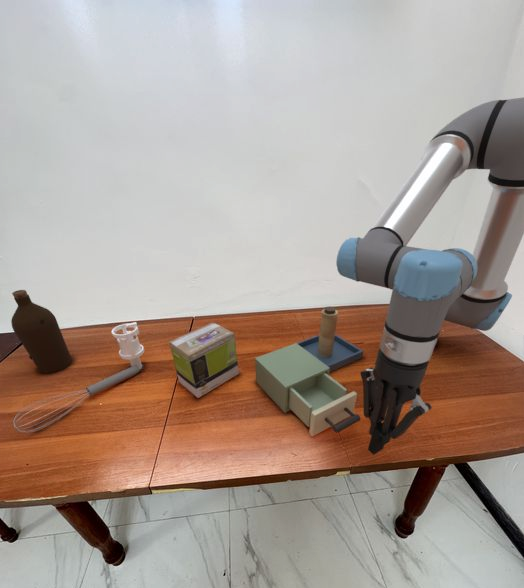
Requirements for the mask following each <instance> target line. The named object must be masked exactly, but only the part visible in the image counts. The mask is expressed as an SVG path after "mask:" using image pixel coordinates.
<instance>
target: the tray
mask: <svg viewBox="0 0 524 588" xmlns="http://www.w3.org/2000/svg"><path fill="white" fill-rule="evenodd" d="M296 343H297V344H298V345H300V346H301V347H302V348H304V349H305V350H306V351H308V352H309V353H310V354H312V355H313V356H314V357H316V358H317V359H319V360H320V361H321V362H323V363H324V364H325V365H327V366H328V367H329V368H330V372H329V373H332V372H333V371H335V370H338V369H339V368H342V367H344V366H347V365H350V364H352V363H354V362H356V361H358V360H361V359H362V358H363V356H364V350H363V349H361V348H359V347H358V346H356V345H354V344H353V343H351V342H350V341H348V340H347V339H344V337H341V336H340V335H338V334H336V333H335V339H334V347H333V354H332V356H331V357H327V358H325V357H321V356H319V355H318V343H319V334H317V335H315V336H311V337H309V338H306V339H304V340H303V339H302V340H301V341H298V342H296Z"/></svg>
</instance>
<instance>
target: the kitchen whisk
mask: <svg viewBox="0 0 524 588" xmlns="http://www.w3.org/2000/svg"><path fill="white" fill-rule="evenodd" d="M141 364H142V363H141ZM138 366H140V365H138ZM138 366H137V365H136V366H132V367H131V366H130V367H127V368H126V369H123V370H121V371H119V372H117V373H115V374H113V375H110V376H108V377H107V378H104V379H102V380H99V381H98V382H96V383H93V384H91V385H89V386H87V387H86V388H85V389H82V390H76V391H71V392H68V393H67V392H66V393H61V394H58V395H54V396H50V397H48V398H44V399H41V400H38V401H36V402H33V403H31V404H29V405H27V406H26V407H24V408H22V409H21V410H20V411H18V412H17V414H16V415H15V416H14V419H13V421H12V422H13V426H14V427H13V428H15V429H16V430H18V432H21V433H25V434H26V433H27V434H29V432H30V433H34V432H37V431H39V430H42V429H45V428H46V427H49V426H51V425H52V424H54V423H55V422H56V421H59V420H60V419H61V418H63V417H64V416H66V415H67V414H68V413H70V412H71V411H72V410H73V409H75V408H76V407H77V406H78V405H80V404H81V403H82V402H84V401H85V400H86V399H87V398H88V397H92V396H94V395H97V394H99V393H101V392H104V391H105V390H107V389H109V388H111V387H113V386H115V385H117V384H120V383H121V382H124V381H125V380H128V379H129V378H132V377H134V376H136V375H138V373H140V372H141V370H142V368H144V367H145V365H144V364H142V368H141V369H139V367H138ZM75 395H76V396H75ZM72 396H73V397H72ZM79 396H80V397H79ZM69 397H71V398H70V399H67V400H64V401H62V402H59V403H57V404H55V405H52V406H50V407H48V408H46V409H43V410H41V411H39V412H37V413H35V414H32V415H30V416H29V417H27V418H24V419H22V420H21V421H19V420H20V419H21V418H23V417H24V416H26V415H28V414H29V413H31V412H33V411H34V410H37V409H39V408H42V407H45V406H47V405H49V404H51V403H52V404H53V403H54V402H57V401H60V400H63V399H66V398H69ZM54 399H55V400H54ZM72 399H74V400H72ZM52 400H53V401H52ZM70 400H72V401H70ZM49 401H50V402H49ZM67 401H70V402H68V403H67V404H65V405H62V406H60V407H59V408H57V409H55V410H53V411H52V412H49V413H47V414H45V415H42V416H41V417H39V418H36V419H35V420H32V421H30V422H28V423H25V424H23V425H20V426H17V425H18V424H20V423H22V422H24V421H25V420H27V419H30V418H32V417H33V416H36V415H38V414H40V413H42V412H44V411H46V410H49V409H51V408H53V407H56V406H58V405H60V404H63V403H65V402H67ZM46 402H47V403H46ZM73 402H74V403H73ZM44 403H45V404H44ZM41 404H43V405H41ZM69 404H70V405H69ZM74 404H75V405H74ZM37 405H40V406H38V407H37V408H34V407H35V406H37ZM67 405H69V406H67ZM71 406H73V407H71ZM63 407H66V408H64V409H62V408H63ZM70 407H71V408H70ZM31 408H33V409H32V410H30V411H28V412H26V413H24V414H23V415H21V414H22V413H23V412H25V411H27V410H29V409H31ZM68 408H70V409H68ZM24 409H25V410H24ZM60 409H62V410H60ZM67 409H68V410H67ZM58 410H60V411H59V412H57V413H55V414H53V415H52V416H50V417H48V418H46V419H44V420H42V421H40V422H38V423H36V424H33V425H30V426H28V427H24V426H26V425H29V424H31V423H34V422H36V421H38V420H40V419H42V418H44V417H46V416H48V415H50V414H52V413H54V412H56V411H58ZM65 410H67V411H65ZM64 411H65V412H64ZM62 412H64V413H62ZM60 413H62V414H61V415H60V416H58V417H56V418H55V419H53V420H51V421H50V422H47V423H45V424H44V425H42V426H39V427H37V428H34V429H31V430H28V431H27V430H25V429H29V428H32V427H36V426H37V425H40V424H41V423H43V422H46V421H47V420H49V419H51V418H53V417H54V416H57V415H58V414H60ZM20 415H21V416H20ZM18 416H20V417H19V418H18ZM17 418H18V419H17ZM16 419H17V420H16ZM15 421H16V422H15ZM18 421H19V422H18ZM23 427H24V428H23Z"/></svg>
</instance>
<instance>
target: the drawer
mask: <svg viewBox="0 0 524 588" xmlns="http://www.w3.org/2000/svg"><path fill="white" fill-rule="evenodd" d="M357 398H358V392H356V391H355V390H353V391H351V392H348V389H347V388H346V387H344V386H343V385H342V384H341V383H340V382H338V380H337V381H336V379H334V378H333V377H332V376H330V374H329V375H328V374H326V373H322V374H320V375H318V376H316V377H313V378H311V379H309V380H307V381H304V382H302V383H300V384H297V385H295V386H293V387H291V388H288V407H289V408H290V409H291V410H290V411H292V412H293V413H294V415H295V416H297V417H298V418H299V419H300V420H301V422H302V423H303V424H305V426H306V427H307V428H309V434H310V436H311V437H314V436H317V435H318V434H320V433H322V432H324V431H325V430H327V429H329V428H331V429H332V432H334V434H338V433H339V432H342V431H344V430H346V429H347V428H349V427H351V426H352V425H354V424H356V423H357V422H359V421H361V416H360V415H359V413H354V412H355V407H356V404H357V403H356V402H357Z"/></svg>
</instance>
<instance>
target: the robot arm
mask: <svg viewBox="0 0 524 588" xmlns="http://www.w3.org/2000/svg"><path fill="white" fill-rule="evenodd" d="M469 170H488V171H489V172H488V176H487V182H488V184H489V185H490V186H491V187H492V190H491V194H490V197H489V200H488V204H487V206H486V211H485V213H484V216H483V220H482V223H481V226H480V229H479V233H478V235H477V239H476V242H475V245H474V248H473V252H472V253H471V252H469V251H468V250H466V249H463V248H458V247H453V248H447V249H445V248H444V249H443V250H439V249H438V250H437V249H427V248H421V247H414V246H407V245H408V244H409V242H411V240H412V238H413V237H414V235H415V234H416V233H417V231H418V230H419V228H420V227H421V225H422V224H423V223H424V222H425V220H426V218H427V217H428V216H429V214H430V213H431V211H432V210H433V209H434V207H435V206H436V204H437V203H438V202H439V200H440V198H441V197H442V196H443V195H444V193H445V192H446V190H447V188H448V187H449V186H450V184H451V183H452V182H453V180H455V179H457V178H459V177H460V176H462V175H463V173H465V172H466V171H469ZM523 237H524V97H515V98H509V99H496V100H491V101H487V102H484V103H481V104H479V105H476V106H474V107H472V108H471V109H468V110H467V111H465V112H463V113H462V114H460V115H458V116H457V117H456V118H454V119H452V121H450V122H449V123H447V124H446V125H445V126H444V127H442V128H441V129H440V130H439V131H438V132H437V133H435V135H434V136H433V137H432V139H431V140H430V141H429V143H428V144H427V145H426V146H425V148H424V149H423V152H422V154H421V158H420V162H419V164H418V165H417V166H416V168H414V171H413V172H412V173H411V174H410V176H409V177H408V178H407V179H406V181H405V182H404V184H403V185H402V186H401V187H400V189H399V190H398V192H397V193H396V195H395V196H394V197H393V198H392V200H391V201H390V202H389V204H388V205H387V206H386V208H385V209H384V210H383V212H381V215H380V216H379V217H378V218H377V220H376V221H375V222H374V224H373V225H372V227H371V228H369V230H368V231H367V233H366V234H365V235H364V236H363V238H361V237H360V236H357V237H349V238H347V239H345V240H344V241H343V242H342V243H341V245H340V247H339V249H338V252H337V255H336V265H335V266H336V268H337V272H338V274H339V275H340V276H342V277H344V278H346V279H350V280H353V281H355V282H359V283H360V282H361V283H365V284H369V285H373V286H377V287H381V288H386V289H389V290H392V292H391V296H390V300H389V305H388V310H387V313H386V318H385V321H384V325H383V331H382V334H381V339H380V343H379V349H378V351H377V355H376V359H375V364H374V367H372V366H370V367H368V368H366V369H364V370H362V371H360V372H359V373H360V378H361V381H362V400H363V401H362V402H363V403H362V404H363V405H362V406H363V416H364V417H365V418H367V419H369V423H370V426H369V430H368V434H369V436H371V437H370V441H369V444H368V447H367V451H369V453H370V454H372V456H374V455H376V454H377V453H379V452H381V451H382V450H383V449H384V447H385V445H387V444H388V443H390V442H391V439H392V440H396V439H398V438H399V437H401V436H402V435H404V434H405V433H406V432H407V431H408V430H409V429H410V427H411V426H412V425H413V424H414V423H415V422H416V420H417V419H419V417H421V416H422V415H425V414H426V413H427V412H429V411H431V410H432V404H430V403H429V402H425V401H424V400H423V399H422V396H421V393H422V390H421V384H422V382H423V380H424V378H425V374H426V372H427V370H428V367H429V364H430V360H431V358H432V356H433V353H434V350H435V347H436V345H437V343H438V339H439V335H440V333H441V328H442V326H443V323H444V321H446V322H450V323H453V324H456V325H460V326H463V327H467V328H470V329H471V330H478V331H483V332H486V331H487V332H488V331H489V330H491V329H492V328H493V327H494V326H495V325H496V323H497V322H498V320H499V319H500V317H501V315H503V314H502V313H503V312H504V311H505V309H506V308H507V306H508V305H509V303H510V301H511V300H512V297H513V294H512V293H509V291H508V290H509V286H508V283H507V281H505V279H506V277H507V275H508V273H509V271H510V268H511V265H512V263H513V261H514V258H515V256H516V253H517V252H518V248H519V246H520V244H521V242H522V239H523ZM408 402H412V403H411V404H410V407H409V411H407V412H406V413H405V415H404V416H403V417H402V419H401V420H400V421H399V419H400V417H401V412H402V409H403V407H404V404H405V403H408ZM398 421H399V422H398Z"/></svg>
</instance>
